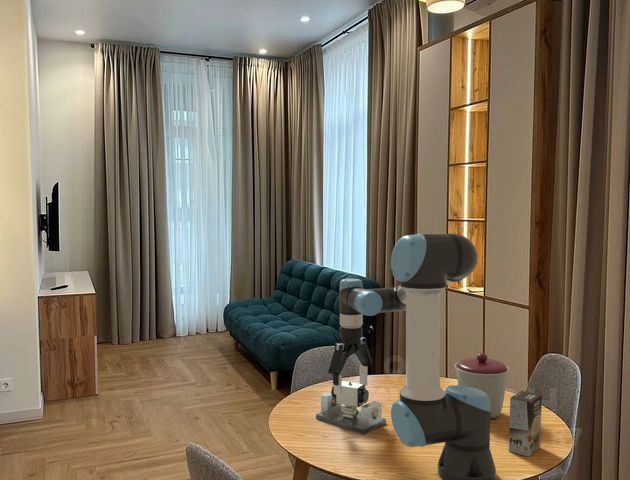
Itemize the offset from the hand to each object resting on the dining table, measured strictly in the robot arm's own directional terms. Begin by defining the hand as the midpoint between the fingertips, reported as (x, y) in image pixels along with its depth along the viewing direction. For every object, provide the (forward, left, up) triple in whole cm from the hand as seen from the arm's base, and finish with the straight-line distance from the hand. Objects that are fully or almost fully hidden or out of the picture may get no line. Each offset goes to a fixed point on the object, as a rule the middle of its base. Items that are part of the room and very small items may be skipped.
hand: (350, 389), depth 198 cm
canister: (-29, -35, -11) cm, 47 cm away
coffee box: (-52, -17, -11) cm, 56 cm away
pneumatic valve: (0, 0, -9) cm, 9 cm away
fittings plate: (0, 0, -11) cm, 11 cm away
